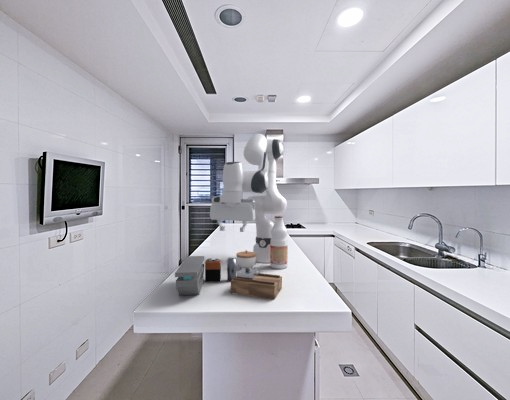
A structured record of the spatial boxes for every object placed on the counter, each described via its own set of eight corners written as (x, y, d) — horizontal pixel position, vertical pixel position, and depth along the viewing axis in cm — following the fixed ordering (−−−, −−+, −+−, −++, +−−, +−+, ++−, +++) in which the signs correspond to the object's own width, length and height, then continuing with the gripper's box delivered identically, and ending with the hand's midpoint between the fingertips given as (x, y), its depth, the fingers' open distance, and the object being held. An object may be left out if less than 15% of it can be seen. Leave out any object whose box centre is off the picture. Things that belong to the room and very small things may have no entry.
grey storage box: (197, 301, 92) (197, 272, 92) (175, 302, 91) (175, 272, 91) (204, 279, 117) (204, 255, 117) (187, 279, 116) (187, 256, 116)
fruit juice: (278, 270, 131) (279, 216, 131) (266, 266, 138) (266, 215, 138) (291, 267, 137) (291, 215, 137) (278, 263, 144) (279, 214, 144)
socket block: (242, 283, 111) (242, 270, 111) (281, 288, 106) (281, 274, 105) (230, 293, 100) (230, 278, 100) (274, 299, 94) (274, 284, 94)
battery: (206, 278, 117) (206, 257, 117) (220, 278, 118) (220, 257, 117) (204, 282, 113) (204, 260, 113) (220, 281, 113) (220, 259, 113)
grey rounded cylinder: (229, 278, 118) (229, 257, 118) (237, 279, 117) (237, 258, 116) (225, 281, 114) (225, 259, 114) (233, 282, 113) (233, 260, 113)
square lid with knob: (243, 273, 109) (243, 265, 108) (258, 275, 106) (258, 267, 106) (236, 279, 102) (236, 269, 102) (252, 281, 100) (253, 271, 100)
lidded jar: (233, 269, 132) (233, 252, 131) (239, 264, 142) (239, 248, 142) (253, 271, 129) (253, 253, 129) (258, 265, 139) (258, 249, 139)
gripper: (257, 199, 107) (257, 231, 107) (215, 198, 114) (214, 229, 114) (252, 198, 102) (252, 233, 101) (208, 198, 108) (207, 230, 108)
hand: (232, 231), depth 108 cm, fingers open, 8 cm apart
